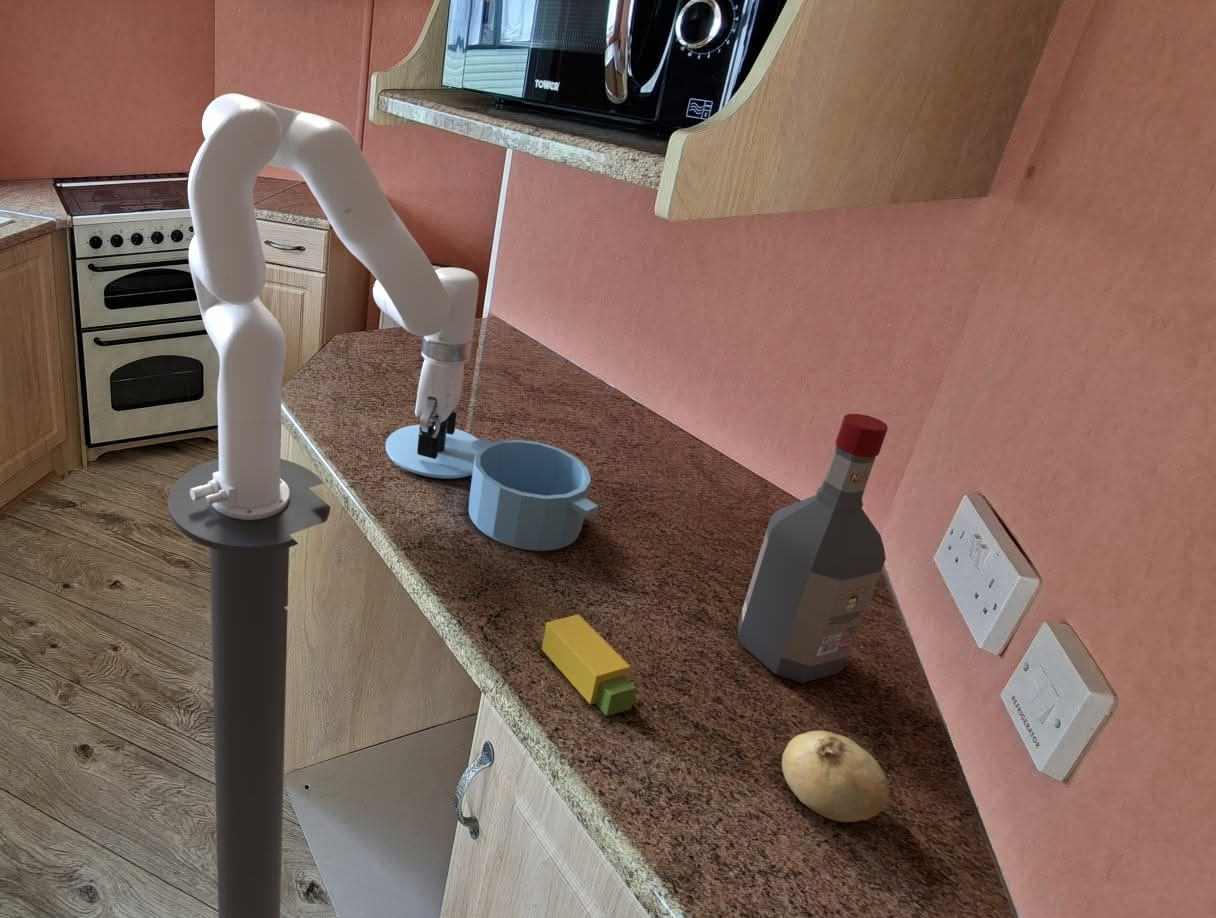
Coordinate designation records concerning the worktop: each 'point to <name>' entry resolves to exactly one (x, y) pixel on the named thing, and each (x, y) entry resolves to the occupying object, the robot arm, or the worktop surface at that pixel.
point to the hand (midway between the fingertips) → (436, 443)
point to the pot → (529, 494)
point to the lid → (451, 452)
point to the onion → (834, 776)
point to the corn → (589, 664)
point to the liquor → (818, 567)
